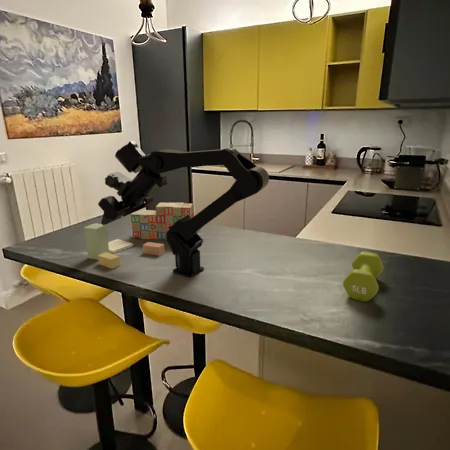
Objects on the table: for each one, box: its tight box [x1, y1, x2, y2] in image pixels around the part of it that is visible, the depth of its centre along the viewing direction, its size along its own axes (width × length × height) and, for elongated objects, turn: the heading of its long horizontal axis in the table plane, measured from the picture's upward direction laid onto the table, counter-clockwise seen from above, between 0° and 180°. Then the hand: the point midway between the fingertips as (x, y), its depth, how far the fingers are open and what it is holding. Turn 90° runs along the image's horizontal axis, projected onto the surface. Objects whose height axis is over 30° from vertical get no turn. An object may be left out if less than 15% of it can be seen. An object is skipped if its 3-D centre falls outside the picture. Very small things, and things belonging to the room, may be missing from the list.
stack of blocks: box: [130, 202, 194, 240], centre depth 121 cm, size 21×6×12 cm, turn 85°
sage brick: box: [83, 222, 110, 261], centre depth 104 cm, size 4×4×10 cm
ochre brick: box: [97, 252, 121, 269], centre depth 99 cm, size 6×3×3 cm, turn 56°
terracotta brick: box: [142, 241, 165, 256], centre depth 108 cm, size 6×3×3 cm, turn 70°
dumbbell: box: [342, 251, 384, 303], centre depth 85 cm, size 16×8×7 cm, turn 150°
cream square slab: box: [108, 238, 134, 255], centre depth 113 cm, size 8×8×2 cm
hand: (112, 219), depth 99 cm, fingers open, 9 cm apart
